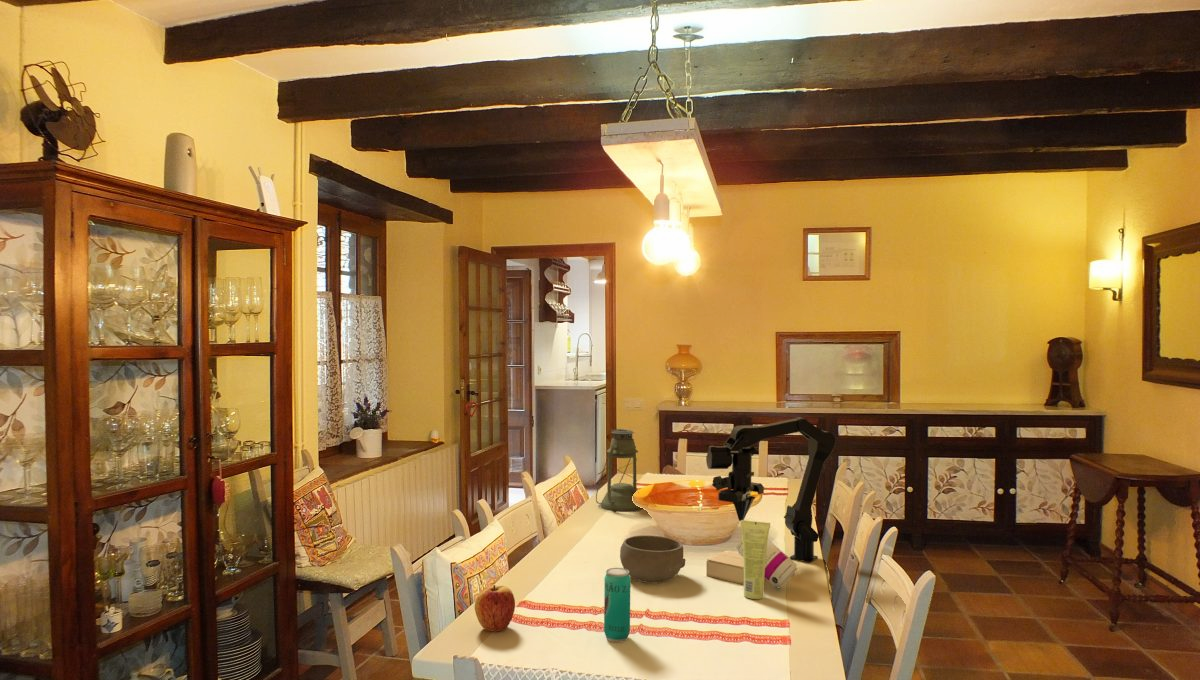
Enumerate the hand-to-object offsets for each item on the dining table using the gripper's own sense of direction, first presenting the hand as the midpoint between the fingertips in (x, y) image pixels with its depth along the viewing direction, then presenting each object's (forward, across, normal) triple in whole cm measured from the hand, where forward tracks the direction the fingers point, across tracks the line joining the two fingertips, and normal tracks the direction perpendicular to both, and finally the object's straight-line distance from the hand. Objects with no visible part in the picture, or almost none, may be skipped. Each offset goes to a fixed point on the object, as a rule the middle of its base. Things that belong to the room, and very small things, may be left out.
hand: (741, 520), depth 228 cm
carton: (+12, +13, +6) cm, 19 cm away
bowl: (+12, +30, -12) cm, 34 cm away
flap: (+8, +10, +6) cm, 14 cm away
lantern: (+12, -35, -69) cm, 78 cm away
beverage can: (+12, +70, +5) cm, 71 cm away
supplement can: (+9, +16, +22) cm, 29 cm away
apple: (+12, +83, -20) cm, 86 cm away
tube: (+12, +26, +17) cm, 33 cm away
